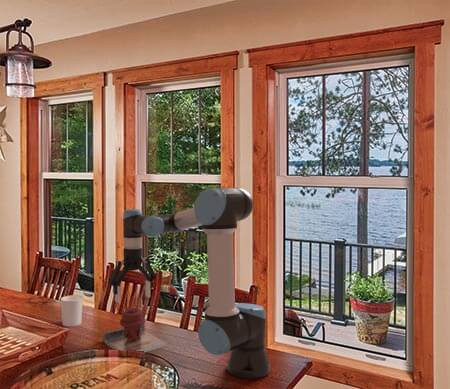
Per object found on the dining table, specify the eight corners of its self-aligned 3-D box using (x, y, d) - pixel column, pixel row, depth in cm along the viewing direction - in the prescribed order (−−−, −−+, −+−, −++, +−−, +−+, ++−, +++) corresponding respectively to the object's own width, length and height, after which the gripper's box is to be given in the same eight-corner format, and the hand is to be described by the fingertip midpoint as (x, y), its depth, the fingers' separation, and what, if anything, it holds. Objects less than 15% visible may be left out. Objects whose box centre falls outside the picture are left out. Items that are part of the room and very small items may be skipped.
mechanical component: (148, 336, 185) (139, 344, 175) (126, 334, 187) (115, 342, 177) (148, 306, 185) (139, 314, 175) (126, 305, 187) (115, 312, 177)
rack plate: (166, 346, 178) (166, 336, 178) (125, 357, 167) (125, 347, 166) (142, 332, 193) (142, 323, 193) (103, 341, 182) (103, 332, 182)
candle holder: (83, 325, 201) (83, 299, 201) (60, 328, 198) (60, 301, 197) (82, 319, 211) (82, 294, 210) (60, 321, 207) (60, 296, 207)
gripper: (155, 243, 190) (155, 292, 191) (99, 249, 175) (99, 302, 175) (164, 245, 185) (164, 296, 185) (107, 251, 169) (108, 306, 170)
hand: (133, 299), depth 180 cm, fingers open, 13 cm apart
